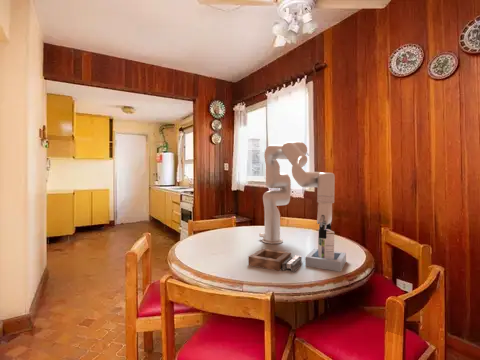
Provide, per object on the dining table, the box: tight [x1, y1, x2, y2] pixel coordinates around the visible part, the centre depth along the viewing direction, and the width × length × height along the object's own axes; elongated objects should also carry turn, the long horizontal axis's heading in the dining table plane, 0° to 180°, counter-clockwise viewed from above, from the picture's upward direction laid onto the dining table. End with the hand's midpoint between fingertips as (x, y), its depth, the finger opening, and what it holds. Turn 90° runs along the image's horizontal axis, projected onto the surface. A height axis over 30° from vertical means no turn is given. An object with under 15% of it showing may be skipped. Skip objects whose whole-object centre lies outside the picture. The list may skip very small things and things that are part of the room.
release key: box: [287, 254, 303, 270], centre depth 118 cm, size 3×13×3 cm, turn 149°
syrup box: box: [317, 229, 335, 260], centre depth 121 cm, size 6×6×14 cm
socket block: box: [247, 248, 302, 273], centre depth 120 cm, size 21×15×4 cm
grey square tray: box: [305, 248, 347, 272], centre depth 120 cm, size 15×15×4 cm
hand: (325, 235), depth 121 cm, fingers open, 9 cm apart
